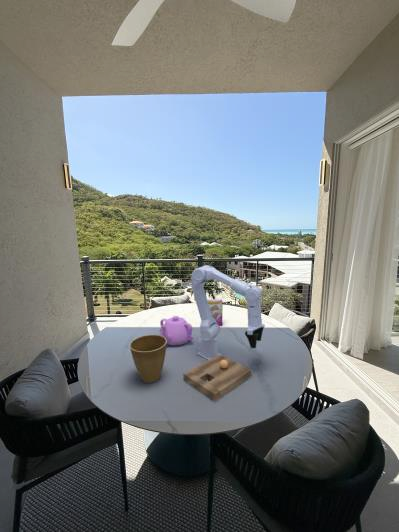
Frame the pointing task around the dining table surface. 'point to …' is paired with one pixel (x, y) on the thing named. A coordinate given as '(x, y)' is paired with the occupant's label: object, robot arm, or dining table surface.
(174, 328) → the teapot
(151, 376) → the plant pot
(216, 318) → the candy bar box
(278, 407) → the dining table surface
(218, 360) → the brown wooden flat block
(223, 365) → the ball
